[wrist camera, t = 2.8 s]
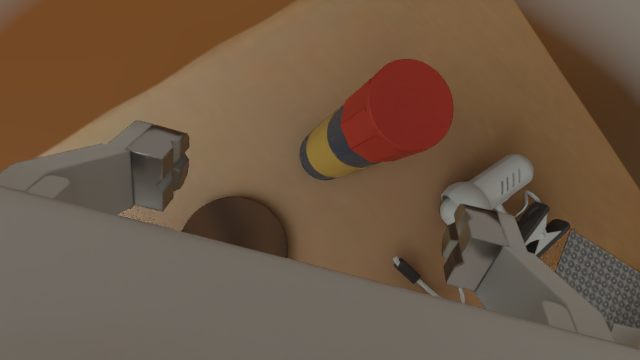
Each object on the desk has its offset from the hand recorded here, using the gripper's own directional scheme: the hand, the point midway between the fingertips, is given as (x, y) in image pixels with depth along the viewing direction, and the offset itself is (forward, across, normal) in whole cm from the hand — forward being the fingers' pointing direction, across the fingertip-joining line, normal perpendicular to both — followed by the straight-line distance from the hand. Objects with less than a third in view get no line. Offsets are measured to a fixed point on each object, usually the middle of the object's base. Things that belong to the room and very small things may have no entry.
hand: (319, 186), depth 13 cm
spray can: (+27, 0, +15) cm, 31 cm away
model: (+24, -35, +31) cm, 53 cm away
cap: (+17, -3, +6) cm, 18 cm away
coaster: (+18, +6, +22) cm, 29 cm away
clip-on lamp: (+27, -16, +21) cm, 38 cm away
